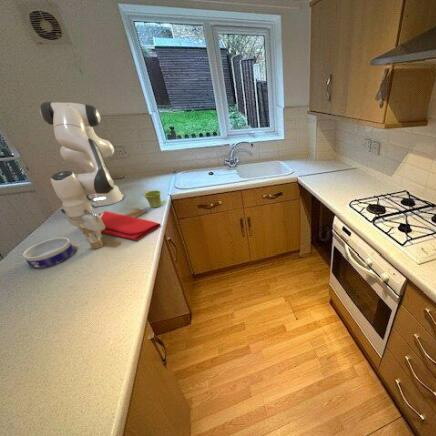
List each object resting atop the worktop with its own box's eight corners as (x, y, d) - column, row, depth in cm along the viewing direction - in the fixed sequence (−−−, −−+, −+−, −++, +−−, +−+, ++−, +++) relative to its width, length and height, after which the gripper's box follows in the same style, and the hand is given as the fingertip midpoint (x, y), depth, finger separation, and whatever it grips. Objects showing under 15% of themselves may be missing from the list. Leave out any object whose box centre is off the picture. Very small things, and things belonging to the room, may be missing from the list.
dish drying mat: (135, 242, 116) (133, 235, 115) (81, 228, 130) (78, 222, 128) (161, 226, 129) (159, 220, 127) (109, 215, 142) (107, 209, 141)
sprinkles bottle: (90, 246, 114) (77, 222, 107) (102, 242, 117) (90, 218, 110) (93, 250, 111) (80, 225, 105) (105, 245, 114) (92, 221, 108)
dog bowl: (21, 272, 99) (12, 260, 96) (43, 251, 112) (36, 240, 109) (64, 264, 102) (57, 253, 99) (81, 245, 115) (75, 234, 112)
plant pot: (157, 209, 148) (153, 196, 143) (144, 208, 149) (140, 195, 145) (167, 203, 156) (163, 190, 151) (155, 202, 157) (150, 190, 153)
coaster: (122, 216, 141) (122, 215, 141) (136, 209, 148) (135, 209, 148) (133, 218, 138) (132, 218, 138) (146, 212, 145) (146, 211, 145)
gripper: (101, 209, 103) (114, 236, 110) (73, 203, 110) (86, 228, 117) (86, 215, 98) (100, 243, 105) (57, 208, 105) (72, 235, 112)
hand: (92, 235), depth 111 cm, fingers open, 8 cm apart
